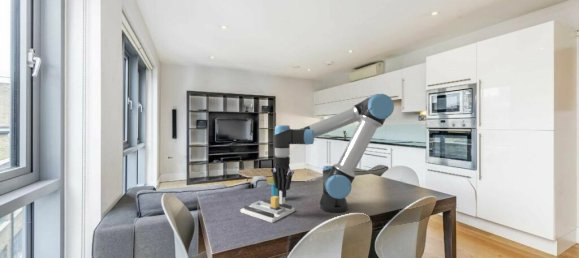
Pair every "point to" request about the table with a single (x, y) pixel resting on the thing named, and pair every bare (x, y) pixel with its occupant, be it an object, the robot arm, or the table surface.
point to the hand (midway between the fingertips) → (282, 203)
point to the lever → (275, 203)
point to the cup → (272, 186)
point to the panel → (267, 210)
